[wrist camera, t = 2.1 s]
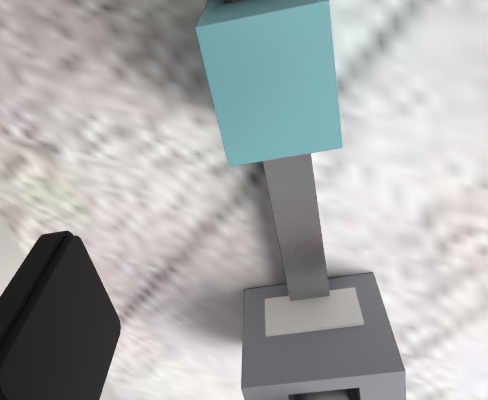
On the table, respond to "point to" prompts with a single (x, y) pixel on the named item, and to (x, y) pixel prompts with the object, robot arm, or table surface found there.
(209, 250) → the table surface
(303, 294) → the rail
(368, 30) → the table surface
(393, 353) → the housing
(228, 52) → the carriage
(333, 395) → the plunger
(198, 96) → the table surface
